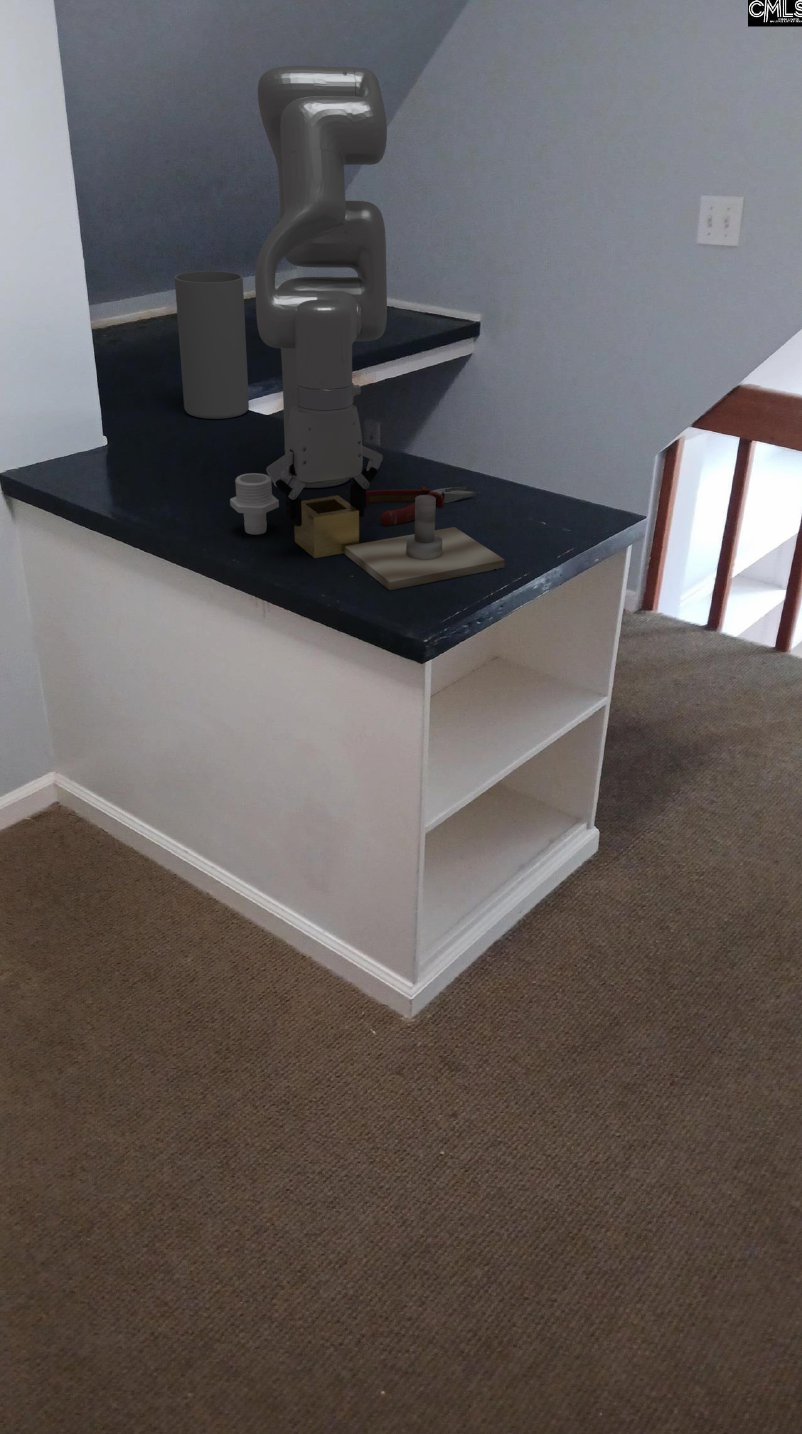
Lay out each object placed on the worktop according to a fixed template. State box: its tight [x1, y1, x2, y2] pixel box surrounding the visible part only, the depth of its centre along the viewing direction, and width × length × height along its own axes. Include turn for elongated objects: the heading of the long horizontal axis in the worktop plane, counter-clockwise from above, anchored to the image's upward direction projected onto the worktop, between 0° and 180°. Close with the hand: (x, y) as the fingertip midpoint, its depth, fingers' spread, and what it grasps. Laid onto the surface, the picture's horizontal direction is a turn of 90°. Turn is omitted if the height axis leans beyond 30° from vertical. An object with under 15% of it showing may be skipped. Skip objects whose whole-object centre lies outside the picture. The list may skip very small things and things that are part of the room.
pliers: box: [366, 485, 478, 527], centre depth 184 cm, size 12×20×3 cm, turn 122°
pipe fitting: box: [229, 472, 280, 535], centre depth 172 cm, size 6×7×8 cm
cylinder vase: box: [174, 270, 250, 420], centre depth 223 cm, size 12×12×25 cm
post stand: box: [344, 495, 506, 591], centre depth 162 cm, size 14×18×9 cm
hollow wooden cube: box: [293, 494, 360, 559], centre depth 167 cm, size 7×7×6 cm
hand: (326, 518), depth 166 cm, fingers open, 9 cm apart
